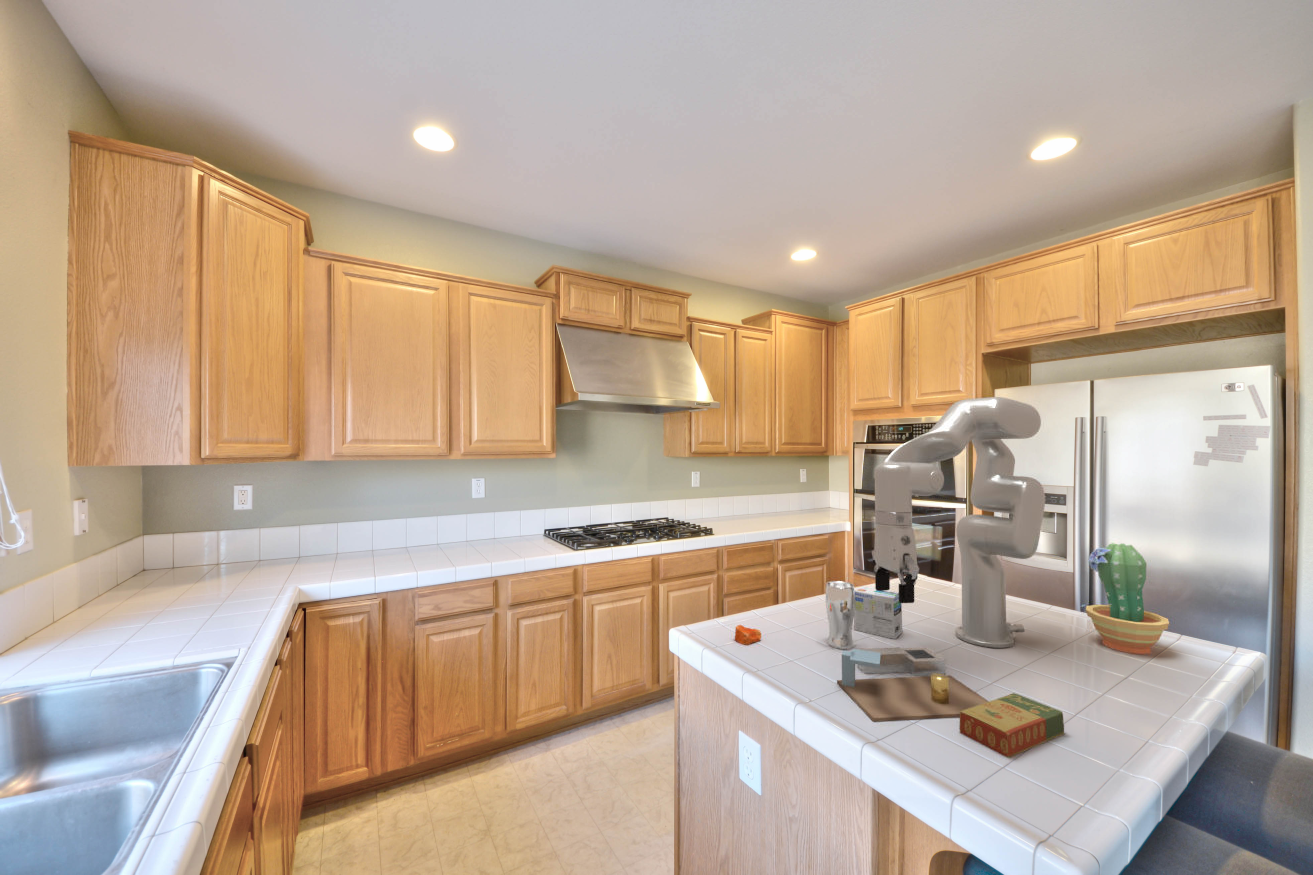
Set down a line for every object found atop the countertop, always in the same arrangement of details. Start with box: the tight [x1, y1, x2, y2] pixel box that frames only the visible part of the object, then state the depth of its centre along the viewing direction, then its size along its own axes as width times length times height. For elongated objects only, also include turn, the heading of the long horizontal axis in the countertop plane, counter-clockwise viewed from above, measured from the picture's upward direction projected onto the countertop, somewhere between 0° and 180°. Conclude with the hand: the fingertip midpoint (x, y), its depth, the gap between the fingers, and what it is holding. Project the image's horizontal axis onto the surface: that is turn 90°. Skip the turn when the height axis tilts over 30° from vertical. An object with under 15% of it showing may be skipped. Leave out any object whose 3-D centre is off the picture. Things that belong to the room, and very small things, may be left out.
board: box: [836, 674, 989, 723], centre depth 101 cm, size 25×15×1 cm, turn 95°
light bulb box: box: [853, 585, 903, 640], centre depth 137 cm, size 11×7×11 cm, turn 48°
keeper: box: [841, 648, 881, 687], centre depth 104 cm, size 7×6×7 cm
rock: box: [734, 624, 762, 646], centre depth 131 cm, size 12×12×4 cm
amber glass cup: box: [930, 673, 949, 704], centre depth 98 cm, size 3×3×4 cm
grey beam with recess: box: [856, 646, 946, 677], centre depth 114 cm, size 17×7×4 cm, turn 95°
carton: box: [958, 692, 1065, 758], centre depth 88 cm, size 8×16×4 cm, turn 116°
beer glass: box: [825, 580, 855, 650], centre depth 128 cm, size 7×7×15 cm
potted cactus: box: [1085, 542, 1170, 655], centre depth 126 cm, size 15×15×25 cm
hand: (894, 596), depth 114 cm, fingers open, 9 cm apart
